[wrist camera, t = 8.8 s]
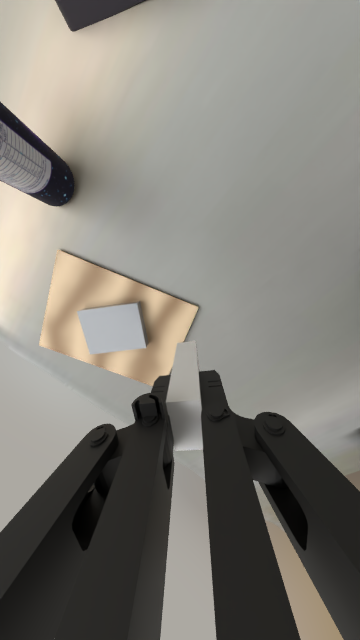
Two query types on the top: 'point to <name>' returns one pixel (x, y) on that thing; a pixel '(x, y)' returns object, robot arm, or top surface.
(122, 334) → the slate tile
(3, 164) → the beverage can
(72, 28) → the calculator
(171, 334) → the cork mat
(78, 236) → the top surface
